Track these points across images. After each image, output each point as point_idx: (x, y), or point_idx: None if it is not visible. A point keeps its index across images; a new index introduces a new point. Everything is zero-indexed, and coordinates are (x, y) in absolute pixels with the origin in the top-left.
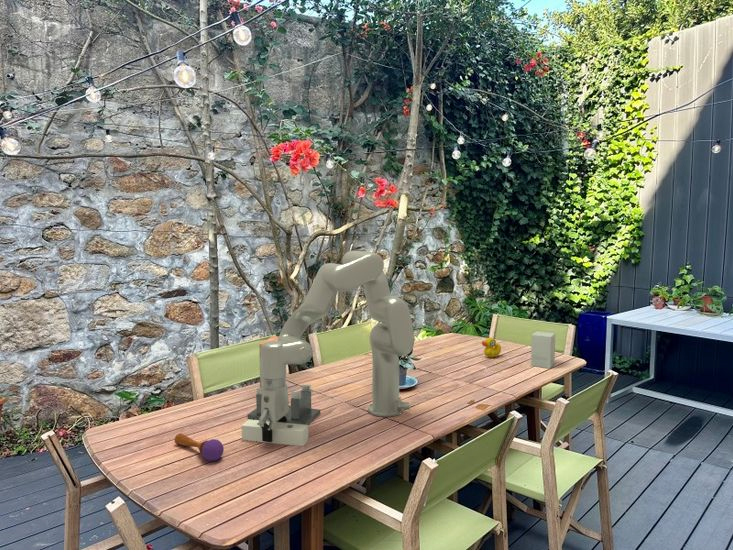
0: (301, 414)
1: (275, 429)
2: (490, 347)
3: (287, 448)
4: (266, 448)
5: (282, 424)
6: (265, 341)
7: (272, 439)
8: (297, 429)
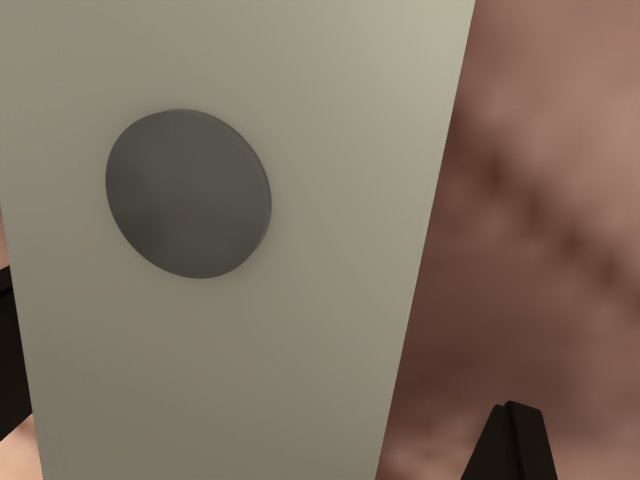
0: None
1: None
2: None
3: (595, 109)
4: (570, 414)
5: (115, 386)
6: None
7: (517, 421)
8: None
